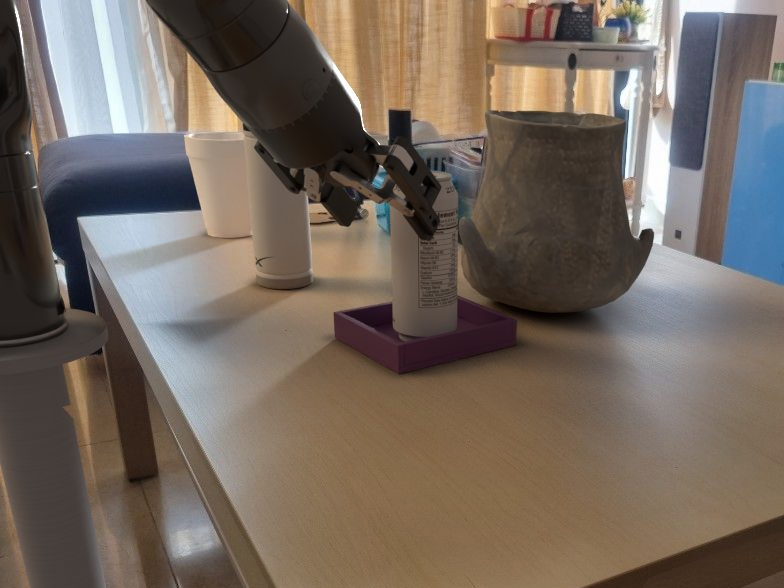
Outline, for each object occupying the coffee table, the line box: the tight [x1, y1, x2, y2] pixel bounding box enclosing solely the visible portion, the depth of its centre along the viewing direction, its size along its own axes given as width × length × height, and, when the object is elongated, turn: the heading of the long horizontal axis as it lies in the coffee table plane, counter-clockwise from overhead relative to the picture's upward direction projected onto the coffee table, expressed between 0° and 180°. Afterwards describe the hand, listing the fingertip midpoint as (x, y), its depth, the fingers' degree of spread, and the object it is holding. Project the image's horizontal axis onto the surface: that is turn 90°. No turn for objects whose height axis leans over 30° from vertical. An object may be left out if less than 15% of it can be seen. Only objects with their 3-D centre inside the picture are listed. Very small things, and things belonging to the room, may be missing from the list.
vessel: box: [458, 109, 655, 314], centre depth 90 cm, size 22×22×20 cm
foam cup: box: [183, 131, 252, 239], centre depth 114 cm, size 10×9×13 cm
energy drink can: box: [389, 170, 459, 342], centre depth 76 cm, size 6×6×15 cm
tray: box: [332, 294, 518, 375], centre depth 79 cm, size 13×11×3 cm
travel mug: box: [242, 122, 314, 290], centre depth 92 cm, size 6×7×20 cm
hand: (389, 224), depth 71 cm, fingers open, 8 cm apart
